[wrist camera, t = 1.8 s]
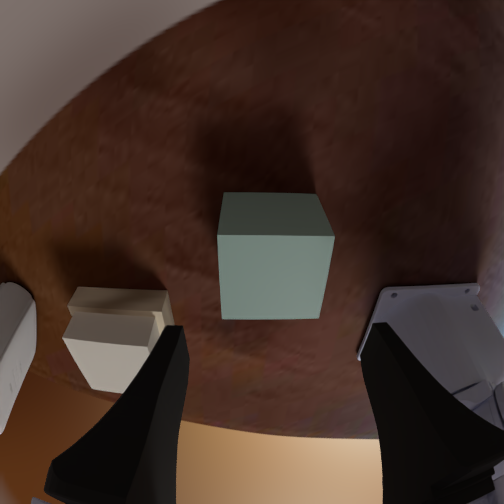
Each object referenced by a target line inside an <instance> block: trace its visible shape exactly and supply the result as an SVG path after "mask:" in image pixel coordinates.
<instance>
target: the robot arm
mask: <svg viewBox="0 0 504 504" xmlns="http://www.w3.org/2000/svg"><path fill="white" fill-rule="evenodd" d="M479 290H480V286H479V284H478V283H466V284H448V285H428V286H404V287H386V288H384V289H383V290H382V291H381V292H380V295H379V298H378V301H377V303H376V306H375V309H374V312H373V315H372V317H371V320H370V323H369V325H368V328H367V331H366V333H365V336H364V338H363V341H362V344H361V346H360V349H359V351H358V353H357V359H358V360H359V361H361V366H362V372H363V378H364V382H365V385H366V389H367V392H368V396H369V399H370V403H371V406H372V410H373V413H374V417H375V421H376V425H377V429H378V435H379V442H380V449H381V460H382V473H383V477H382V485H383V504H504V338H503V336H502V334H501V333H500V331H499V330H498V328H497V326H496V325H495V323H494V321H493V320H492V318H491V317H490V315H489V314H488V312H487V310H486V309H485V307H484V306H483V304H482V303H481V301H480V300H479V298H478V297H477V294H478V292H479ZM393 293H394V294H393ZM189 360H190V358H189V354H188V349H187V344H186V339H185V334H184V329H183V326H177V325H166V326H165V327H164V329H163V331H162V333H161V335H160V337H159V339H158V340H157V342H156V344H155V346H154V348H153V349H152V351H151V353H150V354H149V356H148V358H147V359H146V361H145V362H144V364H143V365H142V367H141V369H140V370H139V372H138V373H137V375H136V376H135V377H134V379H133V380H132V382H131V383H130V384H129V386H128V387H127V389H126V390H125V391H124V393H123V394H122V395H121V397H120V398H119V399H118V400H117V401H116V403H115V404H114V405H113V406H112V407H111V409H110V410H109V411H108V412H107V413H106V414H105V415H104V416H103V417H102V418H101V419H100V421H99V422H98V423H97V424H96V425H95V426H94V427H93V428H91V429H90V430H89V431H88V432H87V433H86V434H85V435H84V436H83V437H81V438H80V439H79V440H78V441H77V442H76V443H75V444H73V445H72V446H71V447H70V448H68V449H67V450H66V451H64V452H63V453H62V454H60V455H59V456H58V457H56V458H55V459H53V460H52V463H51V465H50V467H49V470H48V474H47V478H46V482H45V487H44V491H45V493H46V494H48V495H50V496H52V497H54V498H55V499H57V500H59V501H62V502H64V503H66V504H176V463H177V461H176V460H177V444H178V435H179V428H180V422H181V417H182V412H183V406H184V401H185V395H186V390H187V385H188V374H189ZM31 504H50V503H48V502H45V501H42V500H40V499H38V498H35V497H33V498H32V502H31Z"/></svg>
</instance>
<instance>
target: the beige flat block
mask: <svg viewBox="0 0 504 504" xmlns="http://www.w3.org/2000/svg"><path fill="white" fill-rule="evenodd" d="M67 306H68V308H69V311H70V313H71V315H72V317H73V315H74V313H75V311H78V312H90V313H102V314H115V315H130V316H147V317H156V321H157V325H158V329H159V333H160V335H161V333H162V331H163V329H164V327H165V326H166V325H174V320H173V315H172V311H171V306H170V301H169V296H168V291H167V290H139V289H115V288H95V287H77V289H76V291H75V293H74V294H73V296H72V298H71V300H70V302H69V303H68V305H67Z"/></svg>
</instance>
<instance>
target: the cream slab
mask: <svg viewBox="0 0 504 504" xmlns="http://www.w3.org/2000/svg"><path fill="white" fill-rule="evenodd" d="M159 337H160V333H159V329H158V325H157V321H156V317H147V316H130V315H115V314H102V313H90V312H78V311H75V313H74V315H73V317H72V319H71V321H70V323H69V325H68V327H67V329H66V331H65V333H64V335H63V337H62V338H63V340H64V342H65V344H66V346H67V347H68V349H69V351H70V353H71V354H72V356H73V358H74V360H75V361H76V363H77V365H78V367H79V368H80V370H81V372H82V373H83V375H84V377H85V378H86V380H87V381H88V383H89V385H90V386H91V388H92V389H97V390H103V391H109V392H116V393H124V391H125V390H126V389H127V387H128V386H129V384H130V383H131V382H132V380H133V379H134V377H135V376H136V375H137V373H138V372H139V370H140V369H141V367H142V365H143V364H144V362H145V361H146V359H147V358H148V356H149V354H150V353H151V351H152V349H153V348H154V346H155V344H156V342H157V340H158V339H159Z"/></svg>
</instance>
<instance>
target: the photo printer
mask: <svg viewBox="0 0 504 504" xmlns="http://www.w3.org/2000/svg"><path fill="white" fill-rule="evenodd" d="M35 350H36V305H35V301H34V300H33V299H32V296H31V294H30V293H29V292H28V291H26V290H25V289H24V288H23V287H21V286H20V285H18V284H15V283H12V282H7V283H6V284H5V283H1V285H0V434H1V433H2V432H3V430H4V428H5V425H6V422H7V420H8V417H9V414H10V412H11V409H12V407H13V404H14V402H15V399H16V397H17V394H18V392H19V389H20V387H21V384H22V382H23V380H24V378H25V375H26V373H27V371H28V368H29V366H30V364H31V362H32V359H33V357H34V354H35Z"/></svg>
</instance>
